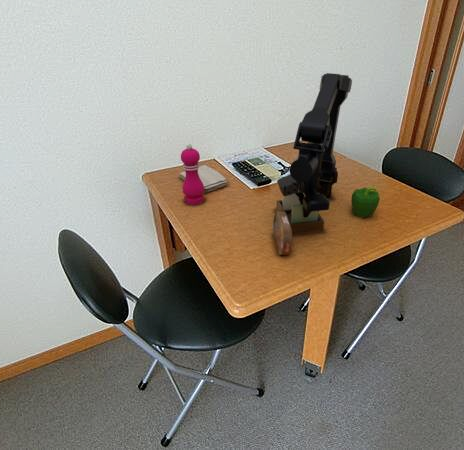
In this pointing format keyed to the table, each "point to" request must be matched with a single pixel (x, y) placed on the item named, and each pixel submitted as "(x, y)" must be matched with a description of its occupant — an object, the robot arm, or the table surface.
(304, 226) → the coaster holder
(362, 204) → the bell pepper
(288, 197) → the cream coaster
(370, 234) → the table surface
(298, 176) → the robot arm
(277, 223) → the tin
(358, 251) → the table surface
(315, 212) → the sage coaster
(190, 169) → the pepper mill
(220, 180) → the washcloth
